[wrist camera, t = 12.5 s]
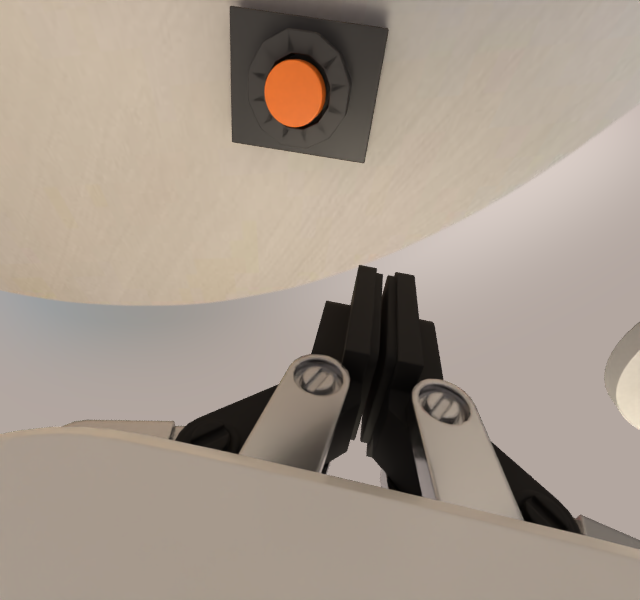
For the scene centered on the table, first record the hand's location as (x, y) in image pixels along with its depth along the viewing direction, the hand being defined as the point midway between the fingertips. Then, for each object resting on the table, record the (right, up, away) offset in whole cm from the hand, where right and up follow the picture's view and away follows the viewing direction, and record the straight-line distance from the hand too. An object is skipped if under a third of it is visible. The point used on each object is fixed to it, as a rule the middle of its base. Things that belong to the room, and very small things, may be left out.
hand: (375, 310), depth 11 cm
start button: (-3, +14, +12) cm, 19 cm away
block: (-3, +16, +15) cm, 22 cm away
